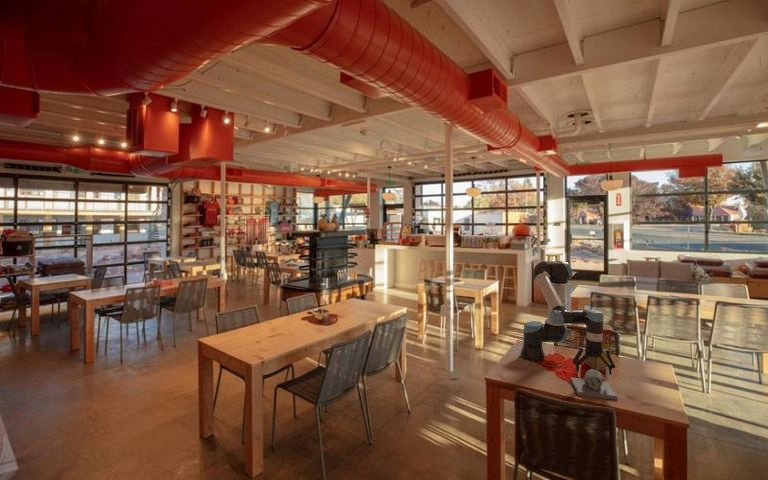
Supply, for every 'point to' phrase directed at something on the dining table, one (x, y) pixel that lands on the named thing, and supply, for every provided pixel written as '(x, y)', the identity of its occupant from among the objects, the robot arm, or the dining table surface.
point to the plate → (584, 390)
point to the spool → (593, 379)
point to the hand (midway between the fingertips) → (593, 378)
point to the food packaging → (606, 344)
